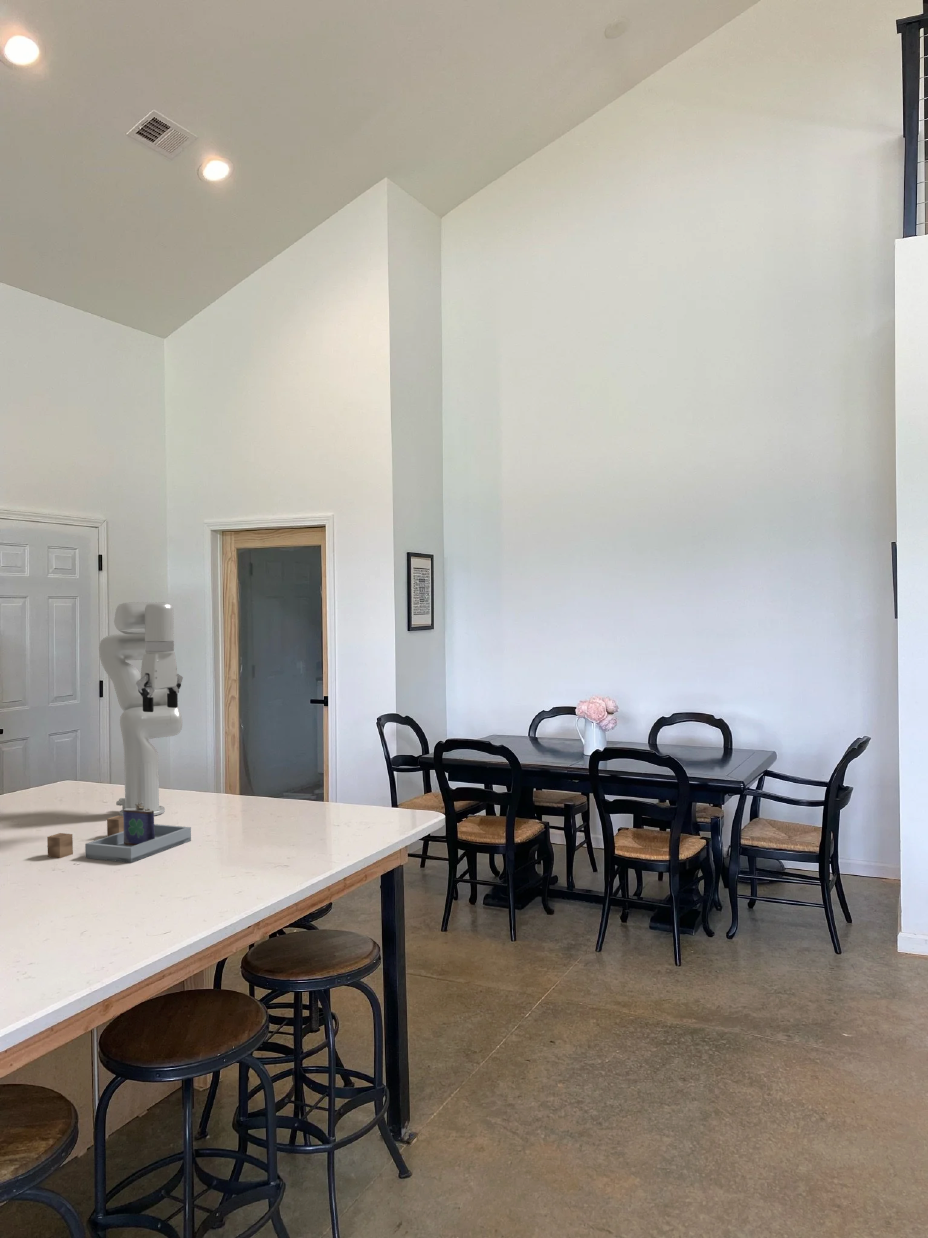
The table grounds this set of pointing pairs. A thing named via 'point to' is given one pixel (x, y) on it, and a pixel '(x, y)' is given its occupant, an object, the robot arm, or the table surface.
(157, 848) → the tray
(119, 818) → the walnut block far
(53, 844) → the walnut block near
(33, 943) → the table surface
